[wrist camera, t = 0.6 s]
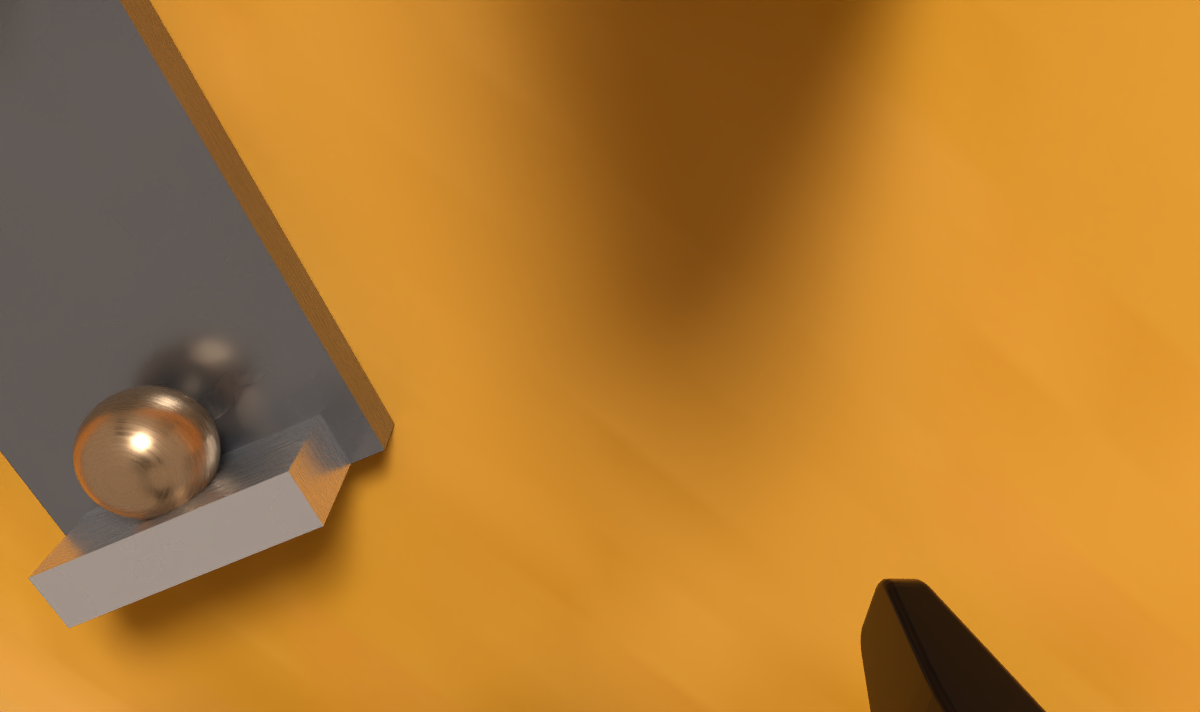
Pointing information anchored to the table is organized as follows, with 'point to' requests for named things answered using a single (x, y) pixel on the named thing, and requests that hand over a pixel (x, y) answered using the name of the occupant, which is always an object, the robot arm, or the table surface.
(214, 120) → the nutcracker bench
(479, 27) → the table surface
